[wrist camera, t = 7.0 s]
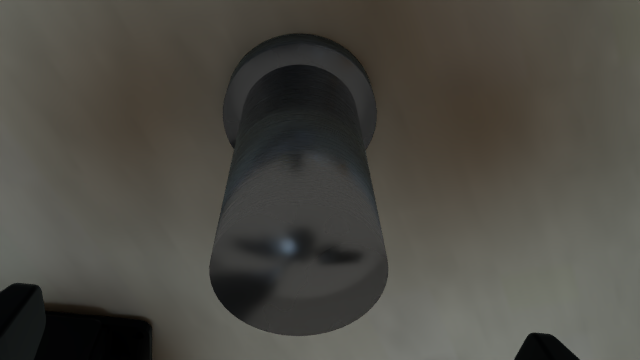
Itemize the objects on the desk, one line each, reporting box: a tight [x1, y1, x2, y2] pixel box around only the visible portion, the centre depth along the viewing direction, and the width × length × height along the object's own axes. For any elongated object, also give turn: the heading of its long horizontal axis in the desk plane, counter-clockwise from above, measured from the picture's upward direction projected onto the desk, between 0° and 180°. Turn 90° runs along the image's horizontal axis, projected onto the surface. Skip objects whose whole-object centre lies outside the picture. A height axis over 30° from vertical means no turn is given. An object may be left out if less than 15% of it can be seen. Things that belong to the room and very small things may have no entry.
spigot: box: [209, 34, 388, 336], centre depth 14 cm, size 5×5×8 cm
